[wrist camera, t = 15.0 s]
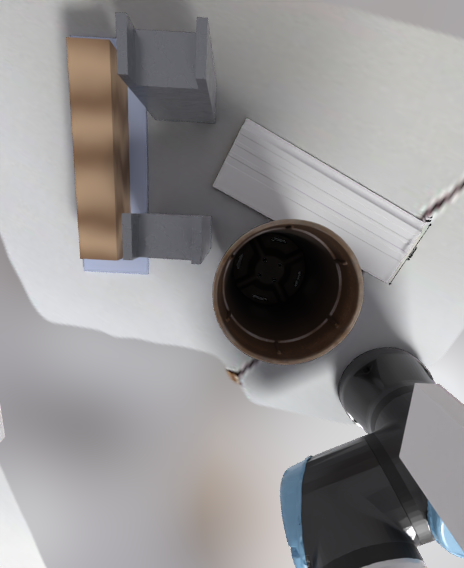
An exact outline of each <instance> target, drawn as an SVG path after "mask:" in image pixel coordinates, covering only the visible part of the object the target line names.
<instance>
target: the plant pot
mask: <svg viewBox="0 0 464 568" xmlns="http://www.w3.org/2000/svg"><path fill="white" fill-rule="evenodd" d="M271 237H277V238H280V239H283V240H285V241H286V242H287V243H286V244H283V243H281V242H278V241H272V240H271ZM242 253H243V254H244V256H243V259H242V262H241V267H240V269H237V263H238V260H239V258H240V256H241V254H242ZM264 258H266V259H267V261H266V262H263V259H264ZM279 263H281V264H282V266H281V267H278V264H279ZM299 271H300V272H301V276H300V279H299V282H298V284H297V286H294V282H295V280H296V278H297V275H298V272H299ZM259 273H260V274H262V276H261V277H258V274H259ZM273 278H276V281H275V282H273V281H272V279H273ZM253 294H254V295H257V296H260V297H266V298H267V300H266V301H263V300H259V299H256V298H254V297H253V296H252V295H253ZM212 296H213V307H214V311H215V315H216V318H217V321H218V323H219V325H220V327H221V329H222V331H223V333H224V334H225V336H226V337H227V338H228V339H229V340H230V342H231V343H232V344H233V345H234V346H235V347H237V348H238V349H239V350H240V351H242V352H243V353H245V354H247V355H248V356H250V357H252V358H255V359H258V360H261V361H264V362H267V363H272V364H279V365H291V364H299V363H304V362H308V361H311V360H314V359H316V358H318V357H321V356H323V355H324V354H326V353H328V352H329V351H331V350H332V349H333V348H335V347H336V346H337V345H338V344H340V343H341V342H342V341H343V340H344V338H345V337H346V336H347V335H348V334H349V332H350V331H351V330H352V328H353V326H354V324H355V323H356V321H357V318H358V316H359V314H360V311H361V307H362V303H363V296H364V283H363V276H362V271H361V268H360V265H359V262H358V260H357V258H356V256H355V254H354V253H353V251H352V250H351V248H350V247H349V246H348V244H347V243H346V242H345V241H344V240H343V239H342V238H341V237H340V236H339V235H337V234H336V233H335V232H333V231H332V230H330V229H328V228H327V227H325V226H322V225H320V224H317V223H315V222H311V221H306V220H299V219H282V220H276V221H272V222H268V223H265V224H262V225H260V226H258V227H256V228H254V229H252V230H250V231H248V232H247V233H245V234H244V235H243V236H241V237H240V238H239V239H238V240H237V241H236V242H235V243H234V244H233V245H232V246H231V247H230V248H229V249H228V251H227V252H226V253H225V255H224V257H223V258H222V260H221V262H220V264H219V266H218V268H217V271H216V274H215V278H214V283H213V294H212Z"/></svg>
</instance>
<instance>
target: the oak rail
mask: <svg viewBox="0 0 464 568" xmlns="http://www.w3.org/2000/svg"><path fill="white" fill-rule="evenodd" d="M66 41H67V56H68V72H69V88H70V104H71V119H72V135H73V151H74V167H75V183H76V198H77V214H78V230H79V246H80V259H95V260H114V261H118V260H120V259H122V258H123V242H122V213H131V205H130V163H129V121H128V86H127V85H126V84H125V82H124V81H123V80H122V79H121V78H120V77H119V75H118V74H117V50H116V48H115V47H114V45H113V44H112V43H111V41H110V40H108V39H90V38H73V37H66Z"/></svg>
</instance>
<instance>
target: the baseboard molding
mask: <svg viewBox="0 0 464 568" xmlns="http://www.w3.org/2000/svg"><path fill="white" fill-rule="evenodd" d="M213 187H215V188H216V189H218V190H220V191H222V192H224V193H225V194H227V195H229V196H231V197H233V198H234V199H236V200H238V201H240V202H242V203H243V204H245V205H247V206H249V207H251V208H252V209H254V210H256V211H258V212H259V213H261V214H263V215H265V216H267V217H268V218H270V219H272V220H274V221H276V220H282V219H299V220H306V221H311V222H315V223H317V224H320V225H322V226H325V227H327V228H328V229H330V230H332V231H333V232H335V233H336V234H337V235H339V236H340V237H341V238H342V239H343V240H344V241H345V242H346V243H347V244H348V246H349V247H350V248H351V250H352V251H353V253H354V254H355V256H356V258H357V260H358V262H359V265H360V268H361V269H362V270H363V271H365V272H367V273H369V274H371V275H372V276H374V277H376V278H378V279H380V280H381V281H383V282H385V283H388V281H389V280H390V278H391V277H392V275H393V274H394V272H395V271H396V269H397V268H398V266H399V265H400V264H401V262H402V260H403V259H404V257H405V256H406V255H407V253H408V251H409V250H410V248H411V247H412V246H413V244H414V242H415V241H416V240H417V238H418V237H419V236H420V234H421V233H422V228H423V226H424V225H425V223H424V222H422V221H421V220H419V219H417V218H416V217H414V216H412V215H411V214H409V213H407V212H405V211H404V210H402V209H400V208H399V207H397V206H395V205H394V204H392V203H390V202H389V201H387V200H385V199H383V198H382V197H380V196H378V195H377V194H375V193H373V192H372V191H370V190H368V189H367V188H365V187H363V186H361V185H360V184H358V183H356V182H355V181H353V180H351V179H350V178H348V177H346V176H345V175H343V174H341V173H340V172H338V171H336V170H334V169H333V168H331V167H329V166H328V165H326V164H324V163H323V162H321V161H319V160H318V159H316V158H314V157H312V156H311V155H309V154H307V153H306V152H304V151H302V150H301V149H299V148H297V147H296V146H294V145H292V144H290V143H289V142H287V141H285V140H284V139H282V138H280V137H279V136H277V135H275V134H274V133H272V132H270V131H268V130H267V129H265V128H263V127H262V126H260V125H258V124H257V123H255V122H253V121H252V120H250V119H248V118H246V120H245V122H244V124H243V126H242V127H241V129H240V131H239V133H238V136H237V138H236V140H235V141H234V144H233V146H232V148H231V150H230V151H229V153H228V156H227V158H226V160H225V162H224V164H223V166H222V168H221V170H220V172H219V174H218V176H217V178H216V180H215V182H214V184H213ZM431 218H432V217H430V219H431ZM430 221H431V220H430ZM430 221H429V220H426V222H430ZM428 226H431V224H430V225H428ZM428 228H429V227H428ZM428 228H427V229H428ZM426 231H427V230H426ZM426 231H425V232H426ZM424 234H425V233H424ZM424 234H423V235H424ZM422 237H423V236H422ZM422 237H421V238H422ZM419 241H420V240H419ZM417 244H418V243H417ZM414 248H416V249H417V247H416V246H415V247H414ZM416 249H415V250H416ZM413 250H414V249H413ZM413 250H412V251H413ZM414 252H415V251H414ZM414 252H413V253H414ZM411 253H412V252H411ZM411 253H410V254H411ZM413 253H412V254H411V255H409V256H408V257H409V258H411V256H413ZM409 258H408V259H406V260H410V259H409ZM404 263H405V262H404ZM402 266H403V265H402ZM402 266H401V267H402ZM400 269H401V268H400ZM400 269H399V270H400ZM398 272H399V271H398ZM398 272H397V273H398ZM396 275H397V274H396ZM396 275H395V276H396ZM393 279H394V278H393ZM391 282H392V281H391ZM390 284H391V283H389V285H390Z"/></svg>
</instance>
